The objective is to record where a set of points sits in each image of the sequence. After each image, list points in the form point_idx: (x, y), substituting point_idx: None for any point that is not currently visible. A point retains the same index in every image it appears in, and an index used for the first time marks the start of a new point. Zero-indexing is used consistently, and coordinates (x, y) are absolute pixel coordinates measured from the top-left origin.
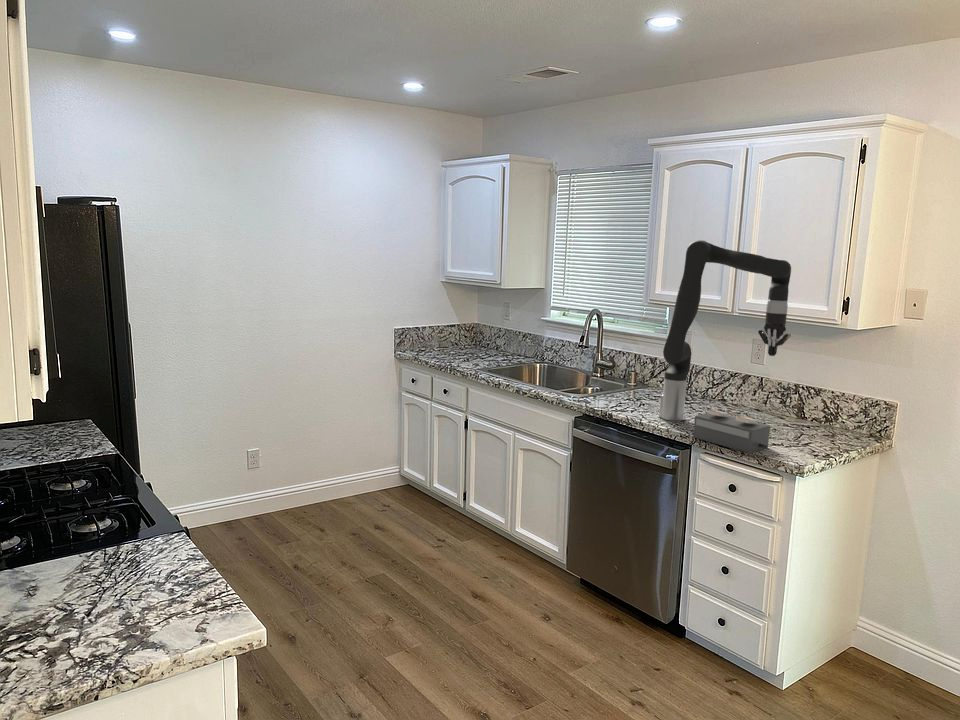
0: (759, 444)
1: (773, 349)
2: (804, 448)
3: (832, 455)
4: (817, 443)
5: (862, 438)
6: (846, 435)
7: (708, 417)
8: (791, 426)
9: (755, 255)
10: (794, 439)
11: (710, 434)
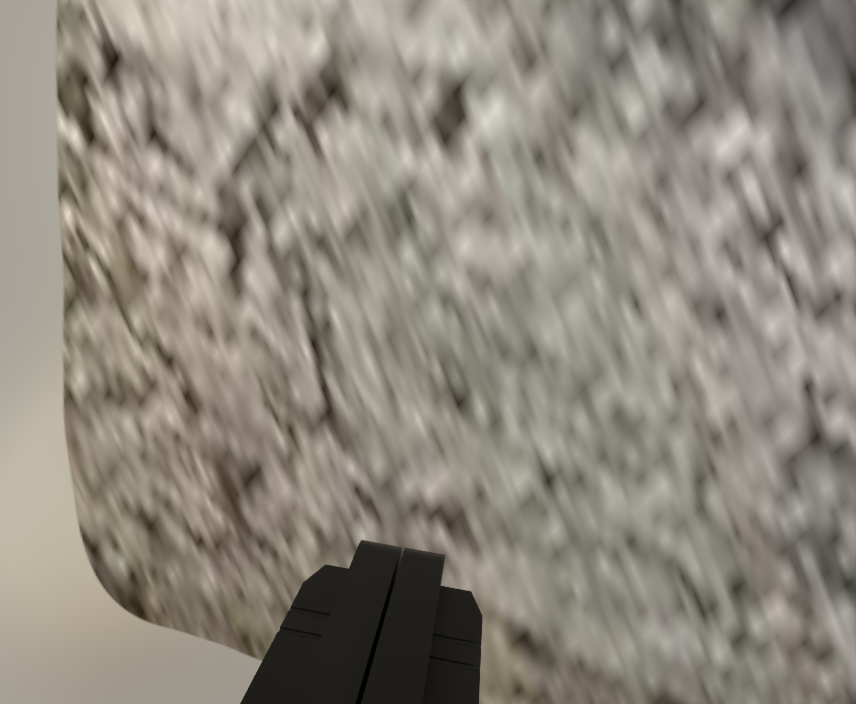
0: None
1: (311, 669)
2: (203, 149)
3: (71, 137)
4: (209, 300)
5: (137, 540)
6: (197, 541)
7: None
8: (425, 520)
9: None
10: (309, 284)
11: None
